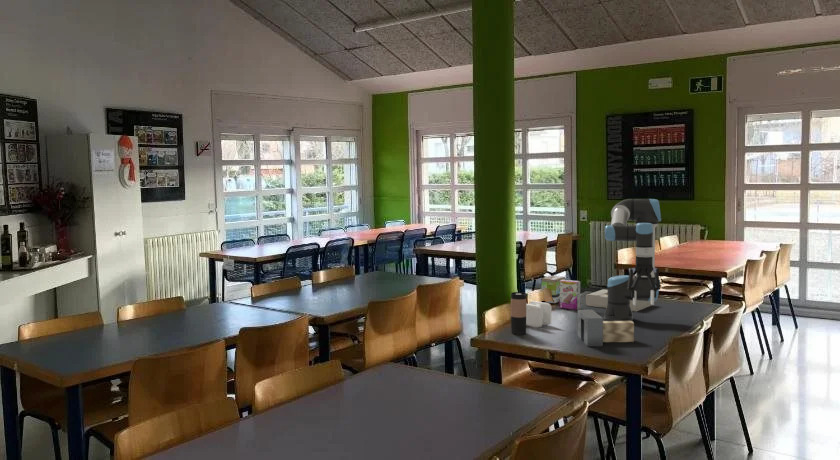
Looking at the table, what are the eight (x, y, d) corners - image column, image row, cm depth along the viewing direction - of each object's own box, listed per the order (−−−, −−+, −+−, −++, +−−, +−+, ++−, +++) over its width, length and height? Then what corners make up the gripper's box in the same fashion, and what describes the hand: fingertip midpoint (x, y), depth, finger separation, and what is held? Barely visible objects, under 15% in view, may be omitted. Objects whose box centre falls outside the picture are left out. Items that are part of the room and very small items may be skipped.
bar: (630, 339, 328) (631, 320, 327) (633, 341, 324) (634, 322, 323) (592, 339, 328) (592, 321, 327) (595, 342, 324) (595, 323, 323)
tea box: (556, 303, 420) (556, 279, 418) (540, 302, 425) (540, 278, 424) (565, 299, 432) (565, 276, 431) (549, 298, 438) (549, 275, 436)
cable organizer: (553, 326, 359) (553, 304, 358) (539, 329, 352) (539, 306, 351) (531, 321, 370) (531, 300, 369) (517, 324, 363) (517, 302, 362)
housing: (592, 336, 336) (592, 309, 335) (602, 346, 316) (603, 318, 315) (577, 336, 336) (577, 309, 335) (587, 346, 316) (587, 318, 315)
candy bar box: (558, 308, 405) (559, 280, 403) (562, 307, 409) (562, 279, 407) (577, 310, 399) (577, 282, 397) (580, 308, 403) (580, 280, 401)
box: (652, 306, 411) (601, 300, 430) (652, 293, 410) (601, 287, 430) (637, 313, 393) (585, 306, 412) (637, 299, 392) (585, 293, 412)
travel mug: (509, 331, 348) (509, 292, 346) (524, 331, 348) (524, 291, 346) (512, 335, 340) (512, 294, 338) (528, 334, 341) (528, 294, 339)
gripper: (624, 257, 319) (623, 306, 321) (668, 256, 319) (668, 305, 321) (619, 255, 326) (619, 303, 328) (663, 254, 326) (662, 302, 328)
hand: (643, 304), depth 324 cm, fingers open, 8 cm apart
